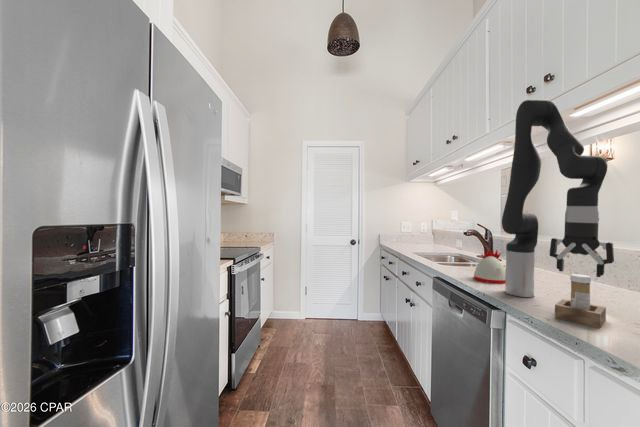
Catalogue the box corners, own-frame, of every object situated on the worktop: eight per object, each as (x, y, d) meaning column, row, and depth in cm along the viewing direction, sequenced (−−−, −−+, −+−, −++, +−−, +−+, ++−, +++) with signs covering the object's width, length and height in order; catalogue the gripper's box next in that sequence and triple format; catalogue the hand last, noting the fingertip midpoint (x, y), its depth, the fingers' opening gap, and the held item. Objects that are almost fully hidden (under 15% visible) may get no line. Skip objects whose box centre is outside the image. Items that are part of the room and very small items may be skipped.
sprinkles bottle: (570, 315, 89) (570, 272, 89) (590, 318, 86) (590, 275, 86) (569, 319, 86) (570, 275, 85) (590, 323, 82) (590, 277, 82)
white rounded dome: (511, 285, 127) (512, 252, 127) (477, 282, 131) (478, 250, 131) (502, 278, 140) (502, 248, 140) (471, 276, 144) (471, 247, 144)
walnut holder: (554, 317, 86) (555, 304, 86) (562, 311, 93) (563, 298, 93) (600, 328, 79) (600, 314, 79) (605, 320, 85) (605, 307, 85)
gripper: (548, 220, 89) (546, 271, 89) (612, 222, 78) (610, 280, 78) (554, 219, 93) (553, 268, 94) (616, 222, 82) (614, 277, 82)
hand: (579, 273), depth 86 cm, fingers open, 8 cm apart
